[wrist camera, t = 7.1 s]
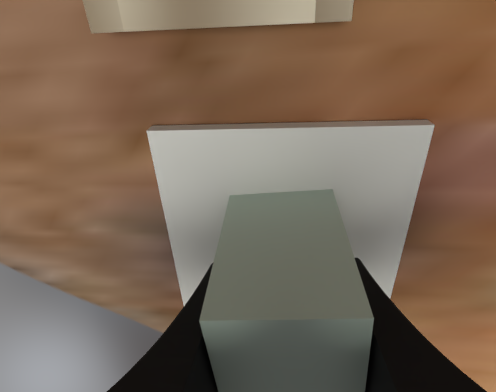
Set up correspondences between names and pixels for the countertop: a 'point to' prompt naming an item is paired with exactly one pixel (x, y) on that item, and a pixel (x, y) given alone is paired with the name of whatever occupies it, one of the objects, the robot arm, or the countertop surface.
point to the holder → (209, 13)
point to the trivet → (290, 182)
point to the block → (286, 298)
